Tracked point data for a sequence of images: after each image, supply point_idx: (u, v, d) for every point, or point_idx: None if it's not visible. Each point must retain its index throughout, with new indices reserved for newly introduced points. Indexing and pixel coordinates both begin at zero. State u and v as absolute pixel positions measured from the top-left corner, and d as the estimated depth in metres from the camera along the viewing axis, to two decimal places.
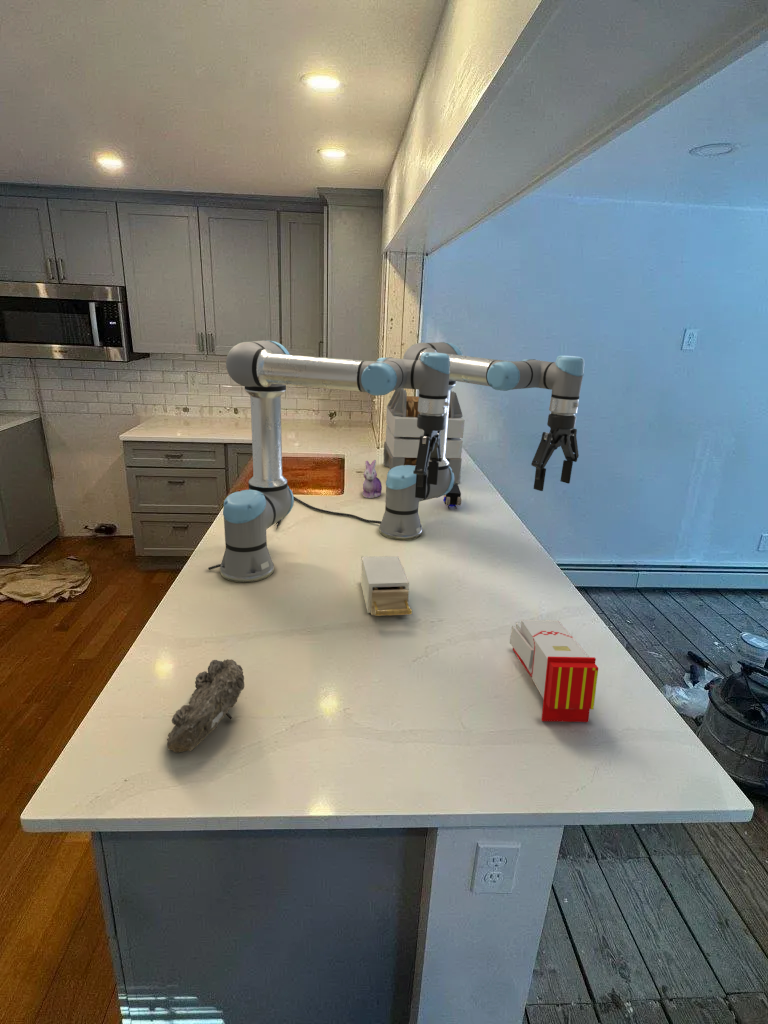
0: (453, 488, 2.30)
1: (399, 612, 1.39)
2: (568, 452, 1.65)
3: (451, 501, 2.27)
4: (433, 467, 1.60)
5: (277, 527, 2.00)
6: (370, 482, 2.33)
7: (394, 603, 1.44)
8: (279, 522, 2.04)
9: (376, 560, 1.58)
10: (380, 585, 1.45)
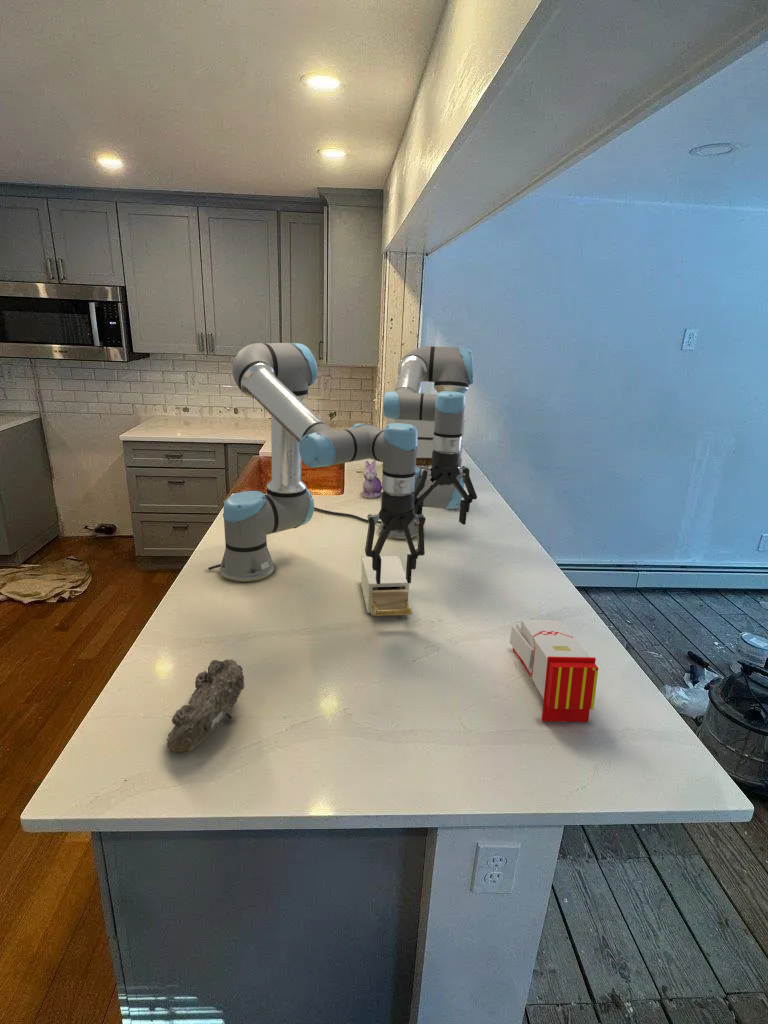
0: None
1: (399, 612, 1.39)
2: (460, 492, 1.56)
3: None
4: (408, 562, 1.37)
5: None
6: (370, 482, 2.33)
7: (394, 603, 1.44)
8: None
9: None
10: (380, 585, 1.45)
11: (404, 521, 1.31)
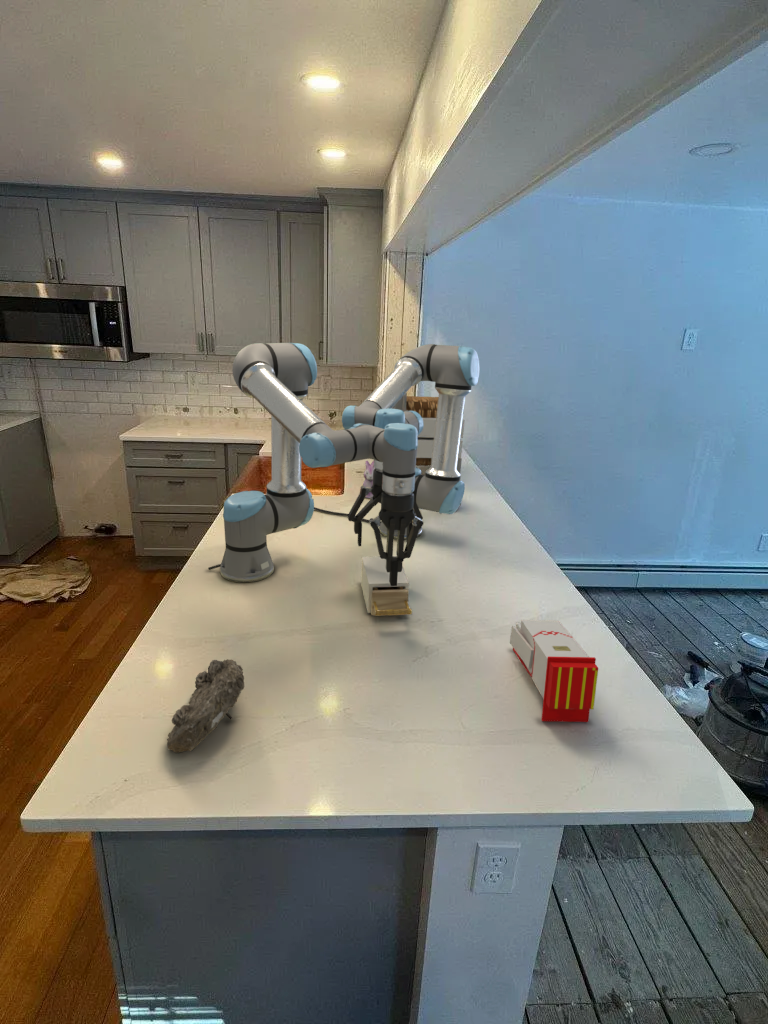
0: None
1: (399, 612, 1.39)
2: None
3: None
4: None
5: None
6: (370, 482, 2.33)
7: (394, 603, 1.44)
8: None
9: (376, 560, 1.58)
10: (380, 585, 1.45)
11: (404, 521, 1.31)
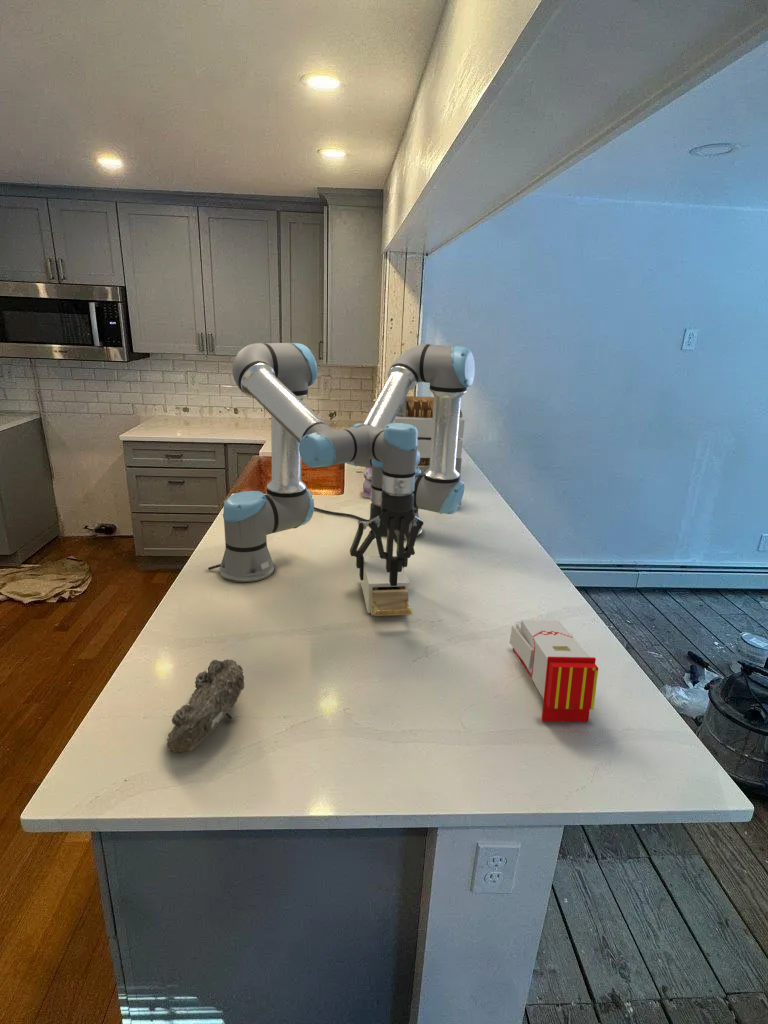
0: None
1: (399, 612, 1.39)
2: None
3: None
4: None
5: None
6: (370, 482, 2.33)
7: (394, 603, 1.44)
8: None
9: (376, 560, 1.58)
10: (380, 585, 1.45)
11: (404, 521, 1.31)
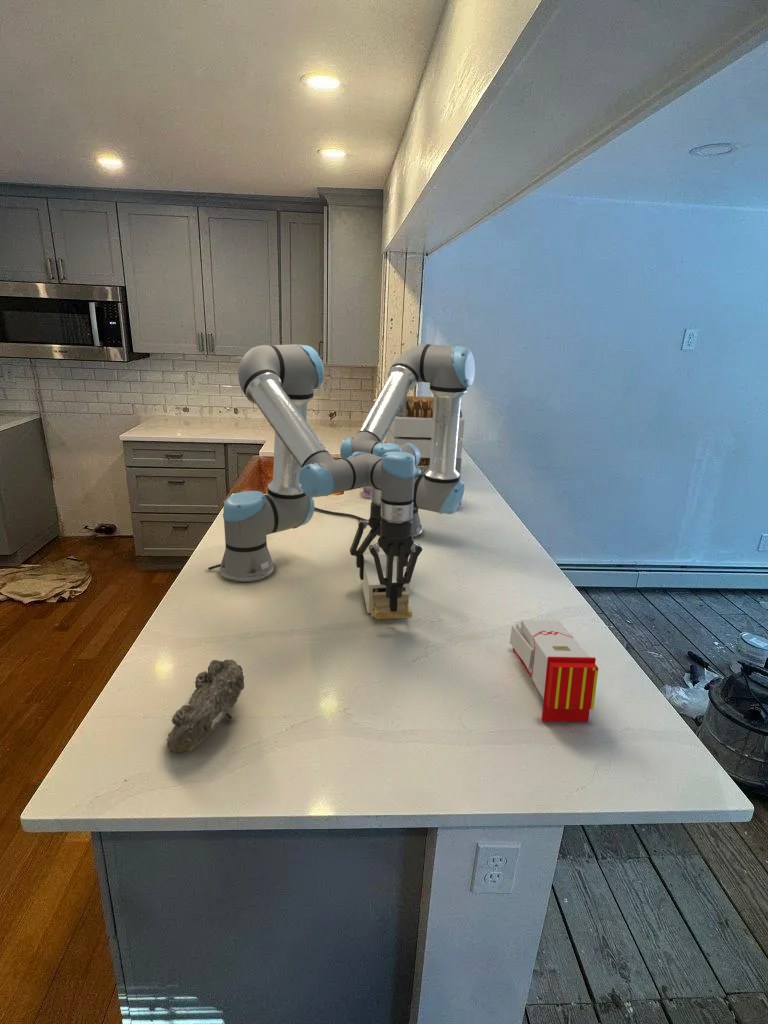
0: None
1: (400, 615, 1.38)
2: None
3: None
4: None
5: None
6: None
7: None
8: None
9: None
10: (380, 586, 1.44)
11: (403, 547, 1.33)
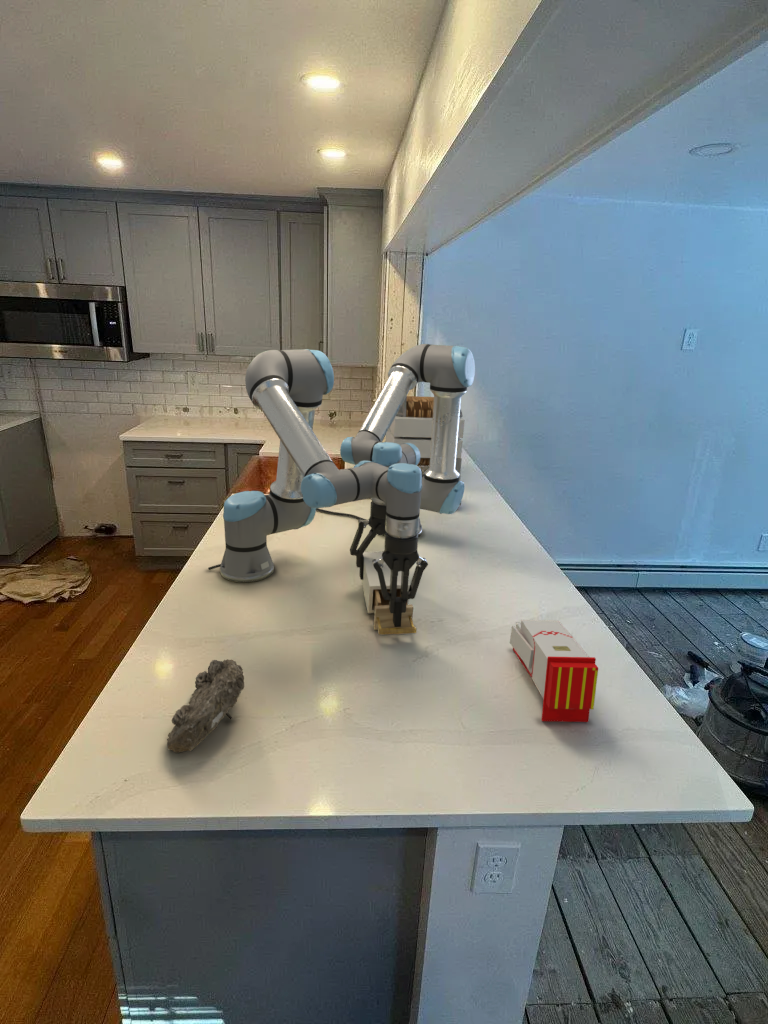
0: None
1: (404, 631, 1.34)
2: None
3: None
4: None
5: None
6: None
7: None
8: None
9: (377, 556, 1.56)
10: None
11: (408, 563, 1.28)
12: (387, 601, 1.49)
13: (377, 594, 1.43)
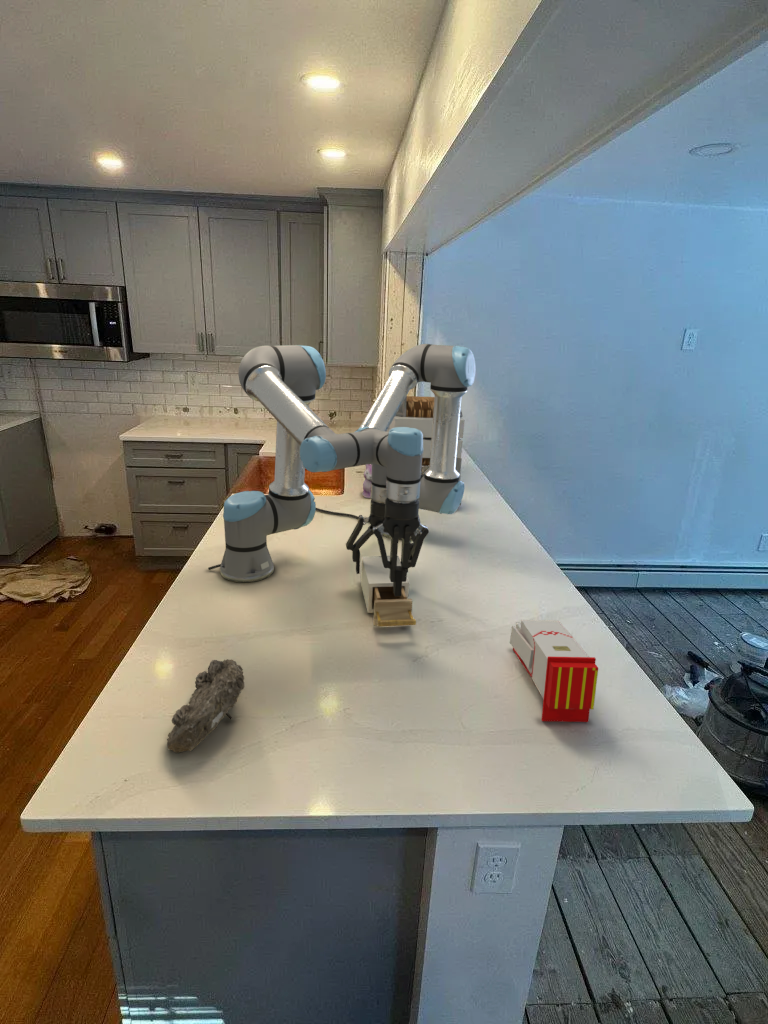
0: None
1: (403, 623, 1.34)
2: (401, 540, 1.55)
3: None
4: None
5: None
6: (370, 482, 2.33)
7: (397, 613, 1.39)
8: None
9: (376, 560, 1.58)
10: (380, 585, 1.45)
11: (409, 529, 1.26)
12: None
13: (376, 591, 1.43)
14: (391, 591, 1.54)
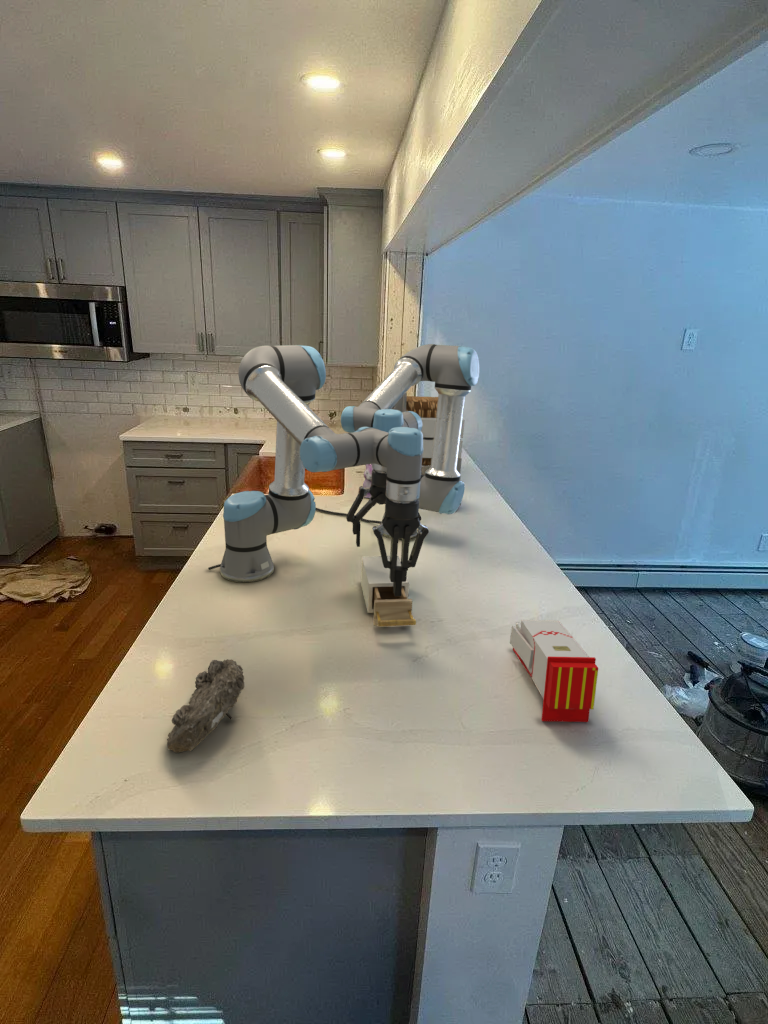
0: None
1: (403, 623, 1.34)
2: None
3: None
4: None
5: None
6: (370, 482, 2.33)
7: (397, 613, 1.39)
8: None
9: (376, 560, 1.58)
10: (380, 585, 1.45)
11: (409, 529, 1.26)
12: None
13: (376, 591, 1.43)
14: (391, 591, 1.54)
